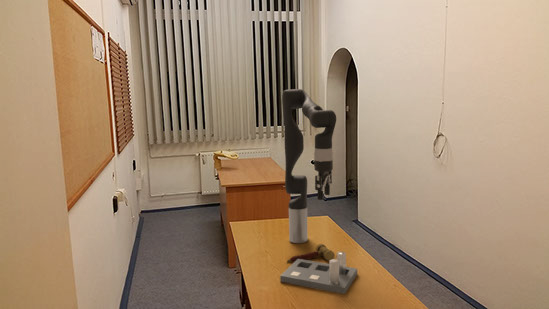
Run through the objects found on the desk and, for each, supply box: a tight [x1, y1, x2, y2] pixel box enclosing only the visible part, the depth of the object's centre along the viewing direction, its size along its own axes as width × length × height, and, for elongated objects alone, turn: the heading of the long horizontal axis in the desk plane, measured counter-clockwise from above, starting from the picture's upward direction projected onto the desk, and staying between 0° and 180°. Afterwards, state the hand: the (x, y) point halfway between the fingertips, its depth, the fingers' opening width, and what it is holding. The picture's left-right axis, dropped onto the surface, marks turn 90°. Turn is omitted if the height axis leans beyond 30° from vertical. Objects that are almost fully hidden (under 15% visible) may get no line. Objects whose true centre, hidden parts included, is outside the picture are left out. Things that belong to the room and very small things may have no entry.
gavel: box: [286, 243, 335, 263], centre depth 181 cm, size 21×5×10 cm
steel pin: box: [336, 251, 347, 275], centre depth 162 cm, size 4×4×10 cm
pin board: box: [279, 258, 358, 295], centre depth 162 cm, size 18×26×10 cm
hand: (323, 197), depth 170 cm, fingers open, 8 cm apart
